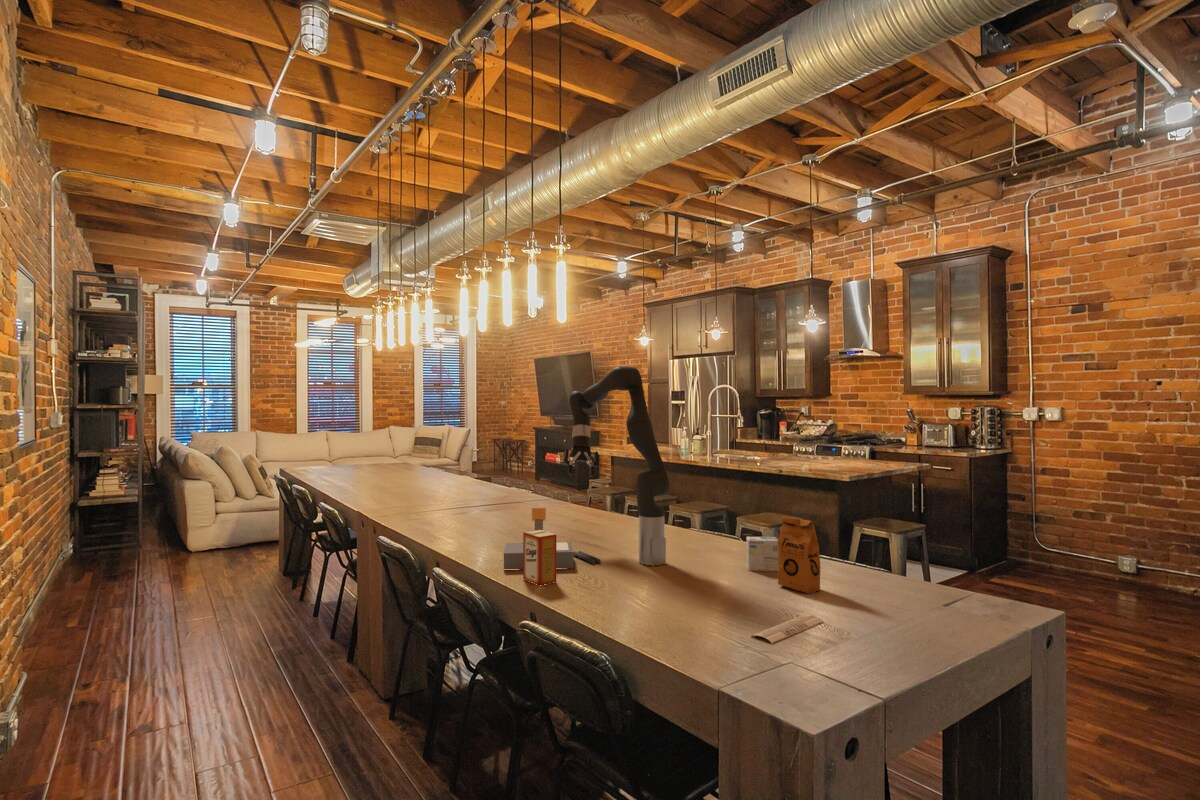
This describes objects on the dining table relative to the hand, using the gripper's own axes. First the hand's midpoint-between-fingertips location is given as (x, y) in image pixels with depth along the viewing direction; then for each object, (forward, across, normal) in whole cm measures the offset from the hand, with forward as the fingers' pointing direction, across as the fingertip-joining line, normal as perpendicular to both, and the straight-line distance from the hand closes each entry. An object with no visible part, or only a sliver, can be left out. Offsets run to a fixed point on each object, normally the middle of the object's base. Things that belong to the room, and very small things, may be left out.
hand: (581, 475), depth 259 cm
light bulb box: (+40, +56, -39) cm, 79 cm away
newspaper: (+62, +32, -90) cm, 114 cm away
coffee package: (+48, +55, -62) cm, 96 cm away
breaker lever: (+31, -19, -14) cm, 39 cm away
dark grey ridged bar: (+35, -1, -11) cm, 36 cm away
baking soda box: (+45, -22, -32) cm, 60 cm away
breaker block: (+37, -19, -12) cm, 43 cm away
